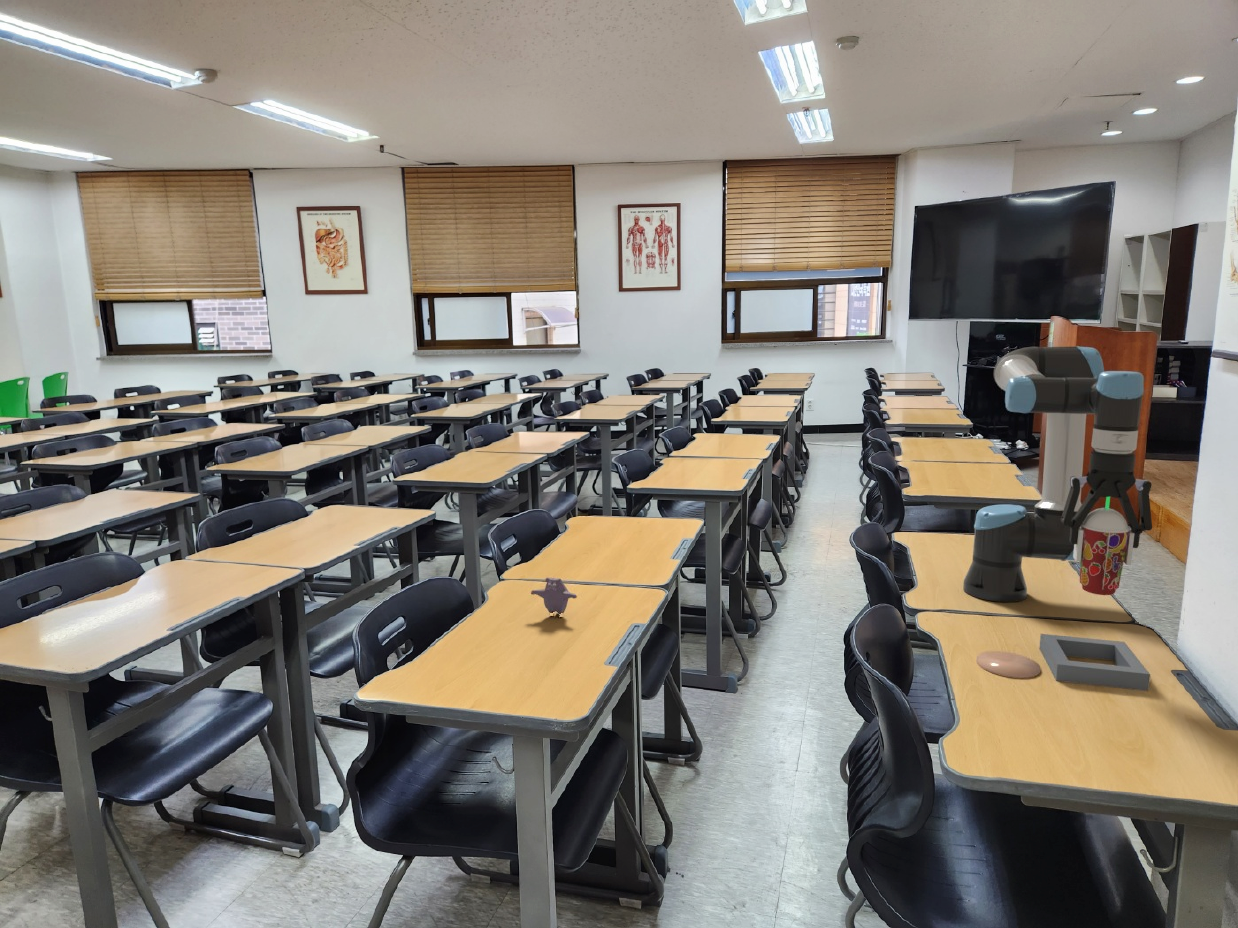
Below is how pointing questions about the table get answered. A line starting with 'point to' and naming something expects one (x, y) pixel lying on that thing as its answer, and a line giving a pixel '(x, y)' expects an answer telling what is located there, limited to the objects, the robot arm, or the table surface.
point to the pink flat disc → (1008, 664)
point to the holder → (1120, 676)
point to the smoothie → (1103, 550)
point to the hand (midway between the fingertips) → (1101, 560)
